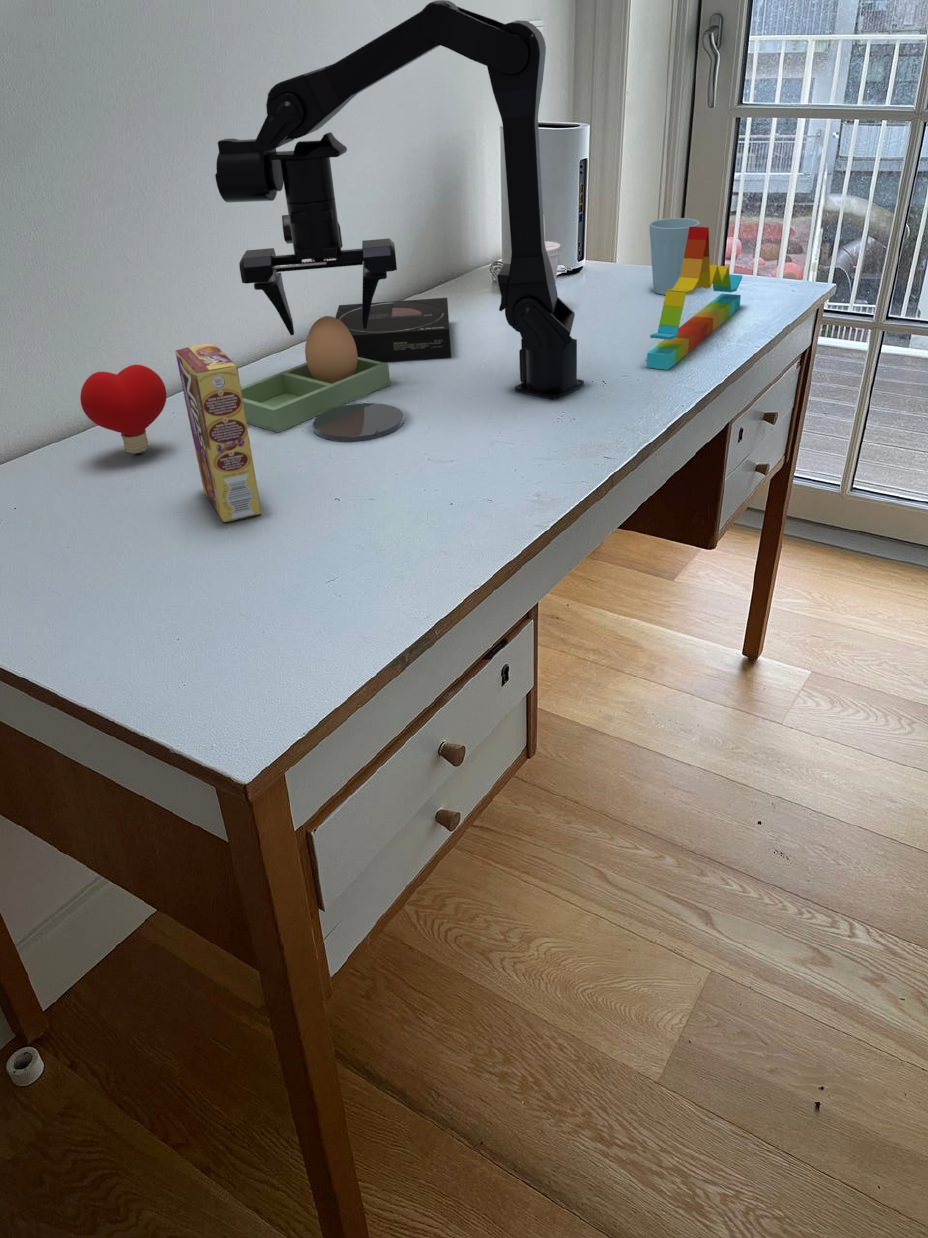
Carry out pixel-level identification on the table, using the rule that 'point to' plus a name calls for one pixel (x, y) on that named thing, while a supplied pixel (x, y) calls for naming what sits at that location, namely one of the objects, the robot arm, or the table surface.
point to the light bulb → (125, 403)
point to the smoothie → (552, 253)
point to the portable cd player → (400, 329)
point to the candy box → (219, 430)
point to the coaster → (358, 422)
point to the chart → (692, 275)
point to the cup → (668, 250)
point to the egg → (330, 350)
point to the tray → (307, 394)
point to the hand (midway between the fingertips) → (328, 331)
